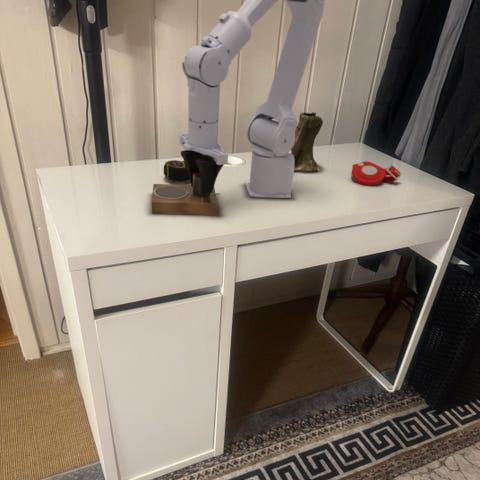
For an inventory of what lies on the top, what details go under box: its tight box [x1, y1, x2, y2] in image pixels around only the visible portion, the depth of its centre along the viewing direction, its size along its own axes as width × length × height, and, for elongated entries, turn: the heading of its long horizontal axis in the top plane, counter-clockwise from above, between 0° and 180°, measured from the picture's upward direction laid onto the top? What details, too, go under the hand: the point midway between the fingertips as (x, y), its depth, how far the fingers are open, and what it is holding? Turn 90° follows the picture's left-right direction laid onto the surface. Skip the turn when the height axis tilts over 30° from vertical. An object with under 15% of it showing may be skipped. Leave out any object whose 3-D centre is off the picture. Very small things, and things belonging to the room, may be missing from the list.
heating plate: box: [154, 186, 188, 199], centre depth 95 cm, size 7×7×1 cm
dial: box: [193, 172, 210, 197], centre depth 95 cm, size 4×4×4 cm
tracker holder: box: [351, 160, 403, 186], centre depth 119 cm, size 12×4×10 cm
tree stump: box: [290, 111, 324, 172], centre depth 120 cm, size 10×10×13 cm
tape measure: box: [163, 159, 190, 183], centre depth 108 cm, size 7×7×4 cm
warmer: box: [151, 183, 221, 216], centre depth 96 cm, size 14×10×3 cm
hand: (201, 189), depth 96 cm, fingers closed on dial, 3 cm apart
